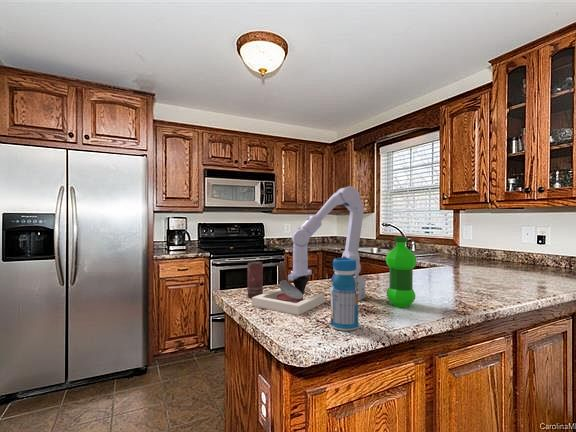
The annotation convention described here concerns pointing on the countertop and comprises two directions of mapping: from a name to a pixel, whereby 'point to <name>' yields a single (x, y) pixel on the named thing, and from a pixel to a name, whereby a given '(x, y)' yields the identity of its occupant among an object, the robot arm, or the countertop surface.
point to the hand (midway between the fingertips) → (300, 295)
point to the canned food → (289, 292)
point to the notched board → (298, 308)
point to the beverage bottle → (344, 295)
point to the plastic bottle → (401, 274)
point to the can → (255, 278)
